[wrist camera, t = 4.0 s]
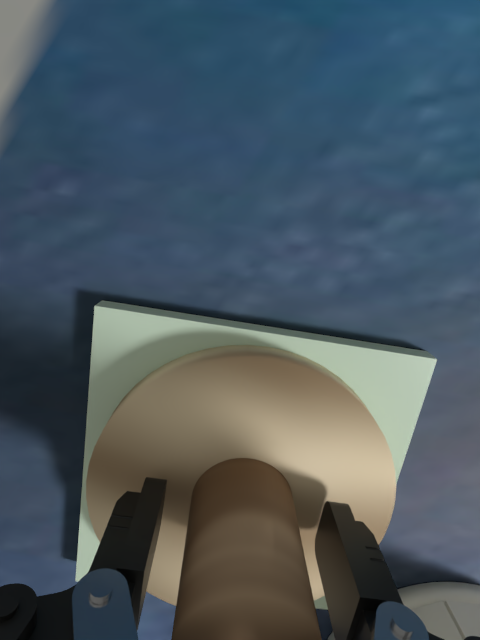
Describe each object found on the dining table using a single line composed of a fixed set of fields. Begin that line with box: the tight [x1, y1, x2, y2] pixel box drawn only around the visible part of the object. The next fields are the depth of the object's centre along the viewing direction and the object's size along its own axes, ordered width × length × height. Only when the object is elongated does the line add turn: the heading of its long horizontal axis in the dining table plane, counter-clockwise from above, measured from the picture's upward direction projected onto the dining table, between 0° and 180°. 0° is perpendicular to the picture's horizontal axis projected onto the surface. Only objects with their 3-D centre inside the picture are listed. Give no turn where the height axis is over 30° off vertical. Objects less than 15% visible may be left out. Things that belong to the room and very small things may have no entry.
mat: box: [76, 300, 437, 610], centre depth 16 cm, size 12×12×1 cm
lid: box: [86, 345, 396, 640], centre depth 12 cm, size 11×11×6 cm
